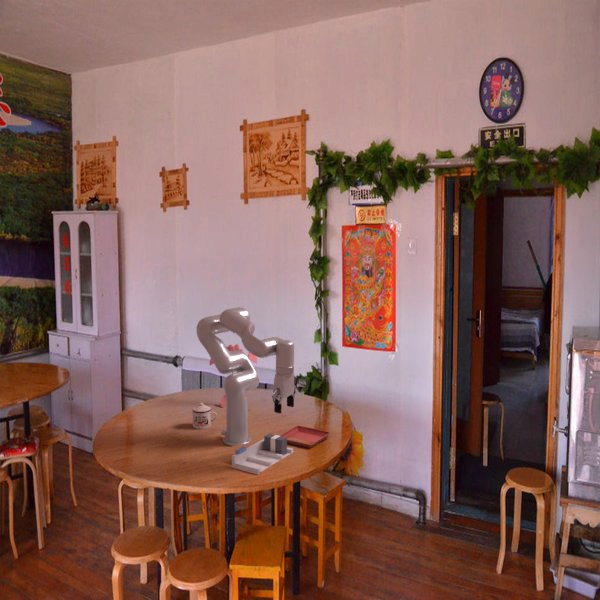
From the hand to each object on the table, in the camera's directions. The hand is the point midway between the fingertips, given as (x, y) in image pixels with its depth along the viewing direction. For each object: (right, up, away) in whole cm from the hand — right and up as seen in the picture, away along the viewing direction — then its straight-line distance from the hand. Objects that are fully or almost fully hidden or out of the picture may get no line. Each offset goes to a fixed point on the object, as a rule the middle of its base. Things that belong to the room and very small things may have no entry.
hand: (284, 409), depth 251 cm
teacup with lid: (-40, -16, +39) cm, 58 cm away
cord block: (-4, -19, +4) cm, 20 cm away
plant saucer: (+9, -18, +20) cm, 29 cm away
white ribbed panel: (-9, -21, -2) cm, 22 cm away
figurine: (-29, -12, +68) cm, 74 cm away
